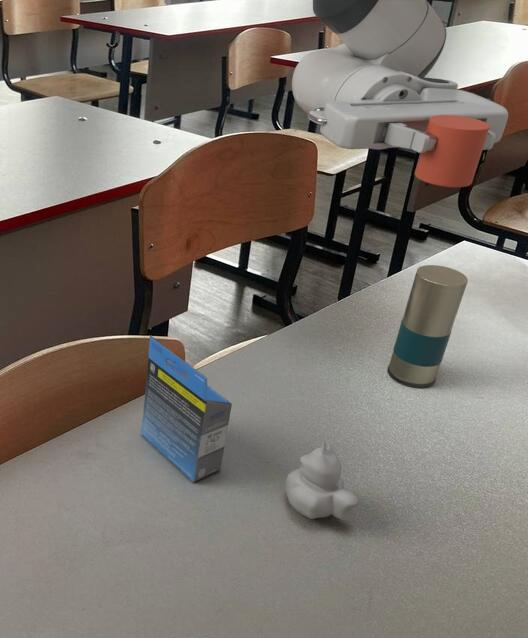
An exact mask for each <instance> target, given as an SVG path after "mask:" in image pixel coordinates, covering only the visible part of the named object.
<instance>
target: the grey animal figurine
mask: <svg viewBox="0 0 528 638" xmlns="http://www.w3.org/2000/svg"><path fill="white" fill-rule="evenodd" d="M299 460H300V464H301V466H300V468H297V469H294V470H292V471H291V472H290V473H288V475H287V476H286V481H285V491H286V492H285V493H286V496H287V500H288V502H289V504H290V506H291V507H292V508H293V509H294V510H296V512H298V513H299V514H301V515H302V516H305V517H306V518H308V519H310V520H315V519H318V518H319V519H321V518H326V517H327V518H328V517H329V516H332V517H335V518H337V519H339V520H343V521H346V520H347V521H348V520H349V519H350V518H351V517H352V511H353V510H354V509H355V508H356V507H357V506H358V504H359V498H358V496H357V495H356V494H355V493H353V492H352V491H350V490H348V489H346V488H345V489H344V487H345V486H344V485H345V484H344V483H345V482H344V479H343V478H342V477H341V474H342V463H341V460H340V458H339V456H338V454H337V452H336V451H335V449H334V447H333V446H332V445H329V446H327V444H326V441H325V440H323V441H322V444H321V446H320V447H317V448H315V449H313V450H312V451H310V453H308V454H304V455H302V456H301V457H300V459H299Z"/></svg>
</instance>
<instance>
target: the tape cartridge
mask: <svg viewBox="0 0 528 638" xmlns="http://www.w3.org/2000/svg"><path fill="white" fill-rule="evenodd" d="M148 342H149V343H148V356H147V366H146V367H147V368H146V369H147V370H146V379H145V389H144V390H145V391H144V400H143V401H144V402H143V410H142V421H141V430H140V434H141V436H142V437H143V438H145V439H146V441H148V442H149V443H150V444H151V445H152V446H153V447H154V448H155V449H157V450H158V451H159V452H160V453H161V454H162V455H163V456H164V457H165V458H166V459H167V460H168V461H169V462H171V464H173V465H174V466H175V467H176V468H177V469H178V470H179V471H181V472H182V473H183V475H185V476H186V477H187V478H188V479H189V480H190V481H191V482H193V483H195V482H198V481H200V480H202V479H205V478H207V477H209V476H210V475H213V474H216V473H218V472H220V471H221V469H222V462H223V457H224V452H225V447H226V446H225V445H226V440H227V435H228V429H229V422H230V417H231V412H232V406H233V403H232V402H231V401H230V400H228V399H227V398H226V397H224V396H223V395H222V394H220V393H219V392H217V391H216V390H214V388H212V387H211V386H209V385H208V377H207V376H206V375H205V374H203V373H201V372H200V371H199V370H197V369H196V368H195V367H193V366H192V365H191V364H189V363H188V362H187V361H186V360H184V359H183V358H182V357H180V356H179V355H178V354H176V353H175V352H174V351H172V350H171V349H169V348H168V347H167V346H165V345H164V344H163V343H161V342H160V341H159V340H158V339H156V338H155V337H154V336H152V335H149V341H148Z"/></svg>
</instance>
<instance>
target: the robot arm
mask: <svg viewBox="0 0 528 638" xmlns="http://www.w3.org/2000/svg"><path fill="white" fill-rule="evenodd" d="M312 10H313V15H314V16H315V17H316V18H318V19H319V20H320V21H321V22H322V23H323V24H324V25H325V26H326V27H327V28H328V29H329V30H330V31H331V32H332V33H334V34H335V35H336V36H337V37H338V38H339V39H340V40H341V42H342V43H341V44H339V45H336V46H334V47H332V48H329V49H328V48H327V49H321V50H315V51H312V52H310V53H308V54H306V55H304V56H303V57H302V58H301V59H300V61H299V62H298V63H297V64H296V66H295V69H294V71H293V74H292V79H291V91H292V95H293V98H294V100H295V102H296V104H297V105H298V107H299V108H300V109H301V110H302V111H303V112H304V113H305V114H307V119H308V120H309V121H311V122H313V123H315V124H318V125H320V127H319V132H320V134H321V135H322V136H323V137H324V138H325V139H327V140H328V141H329V142H331V143H332V144H333V145H334V146H336V147H339V148H342V149H346V150H364V149H365V150H369V149H371V150H385V149H388V148H389V149H391V148H392V149H393V148H402V149H408V150H412V151H414V152H416V153H419V154H420V153H425V152H433V151H434V150H435V144H436V143H437V140H438V138H437V136H436V135H434V134H432V133H430V132H426V130H427V127H428V123H429V120H430V118H431V117H432V116H437V115H455V116H463V117H469V118H474V119H477V120H481V121H483V122H485V123H487V124H489V126H490V128H489V131H488V134H487V137H486V140H485V144H484V147H483V150H482V151H484V150H486V151H487V150H492V148H493V147H494V144H496V143H499V142H500V141H501V139H502V137H503V134H504V131H505V129H506V126H507V122H508V119H509V112H508V109H507V108H506V107H504V106H503V105H501V104H499V103H497V102H494V101H492V100H490V99H488V98H485V97H483V96H481V95H478V94H476V93H474V92H470V91H467V90H463V89H458V87H459V84H458V83H457V82H455V81H453V80H449V79H443V78H435V77H426V76H427V75H428V74H429V73H430V72H431V70H432V69H433V68H434V66H435V64H436V63H437V62H438V59H439V58H440V56H441V55H442V52H443V50H444V47H445V45H446V40H447V27H446V26H445V24H444V23H443V22H442V20H441V18H440V17H439V15H438V14H437V12H436V11H435V9H434V8H433V7H432V5H431V4H430V3H429V1H428V0H312Z"/></svg>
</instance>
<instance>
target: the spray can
mask: <svg viewBox="0 0 528 638" xmlns="http://www.w3.org/2000/svg"><path fill="white" fill-rule="evenodd" d="M468 282H469V279H468V277H467V276H466V275H465V274H464V273H462V272H461V271H459V270H457V269H454V268H452V267H448V266H444V265H438V264H436V265H435V264H426V265H422V266H419V267H418V268H417V269H416V272H415V275H414V279H413V282H412V286H411V289H410V292H409V295H408V299H407V303H406V306H405V309H404V312H403V316H402V319H401V321H400V325H399V328H398V331H397V335H396V339H395V342H394V345H393V351H392V355H391V357H390V361H389V363H388V366H387V374H388V376H389V377H390V378H391V379H392V380H393V381H395V382H396V383H399V384H400V385H402V386H406V387H408V388H414V389H427V388H430V387H432V386H433V385H434V384H435V382H436V380H437V375H438V372H439V369H440V366H441V363H442V361H443V359H444V356H445V352H446V350H447V347H448V344H449V340H450V339H451V338H450V337H451V334H452V330H453V328H454V323H455V320H456V318H457V315H458V312H459V309H460V306H461V302H462V300H463V297H464V295H465V294H464V293H465V292H466V288H467V285H468Z"/></svg>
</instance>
